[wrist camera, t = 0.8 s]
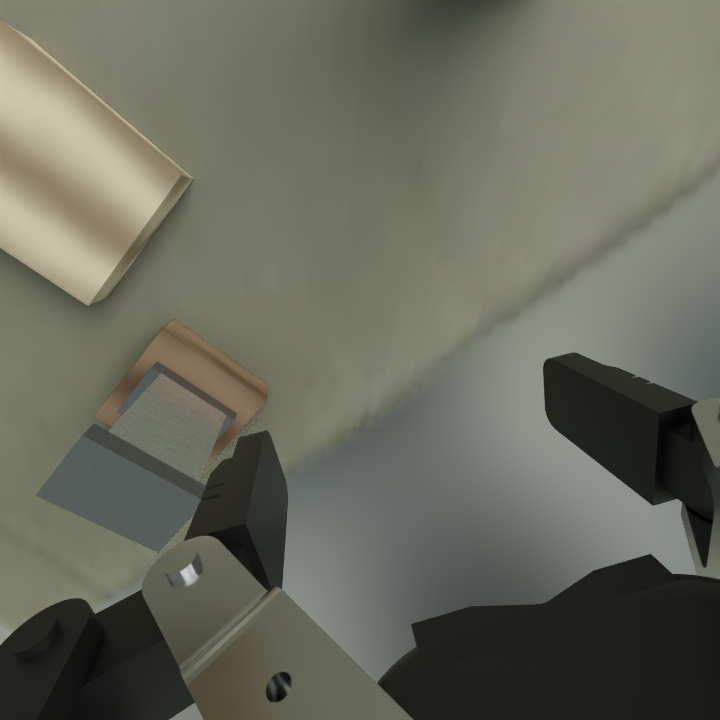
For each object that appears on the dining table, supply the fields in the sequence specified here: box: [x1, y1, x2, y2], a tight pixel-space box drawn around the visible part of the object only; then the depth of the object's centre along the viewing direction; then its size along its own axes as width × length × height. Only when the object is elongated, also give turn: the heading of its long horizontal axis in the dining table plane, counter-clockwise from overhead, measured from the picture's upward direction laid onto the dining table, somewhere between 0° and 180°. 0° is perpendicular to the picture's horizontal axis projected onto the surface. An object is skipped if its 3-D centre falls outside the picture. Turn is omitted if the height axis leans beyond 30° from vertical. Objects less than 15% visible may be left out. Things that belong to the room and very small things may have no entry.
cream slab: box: [0, 20, 193, 306], centre depth 26 cm, size 12×12×3 cm
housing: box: [36, 361, 237, 553], centre depth 27 cm, size 5×8×11 cm, turn 48°
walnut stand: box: [93, 319, 269, 470], centre depth 33 cm, size 10×10×3 cm
